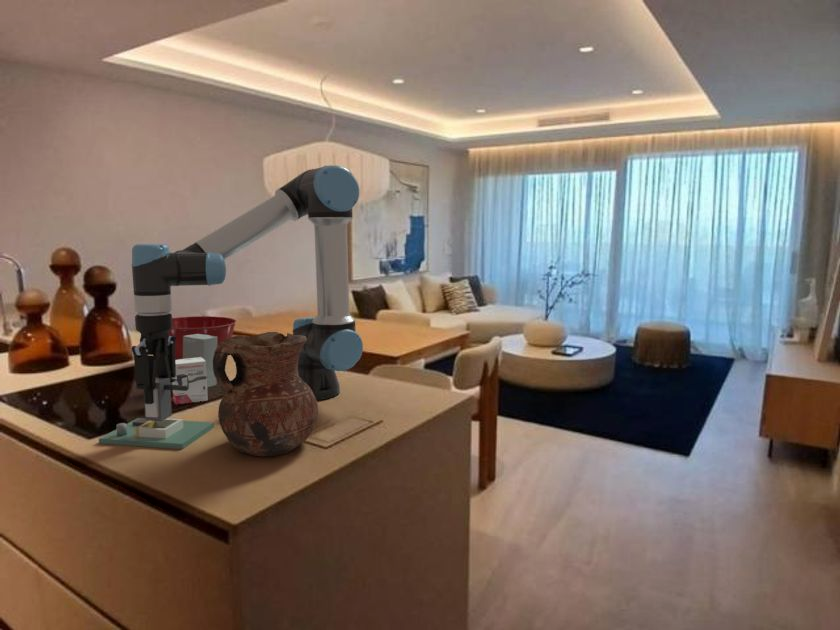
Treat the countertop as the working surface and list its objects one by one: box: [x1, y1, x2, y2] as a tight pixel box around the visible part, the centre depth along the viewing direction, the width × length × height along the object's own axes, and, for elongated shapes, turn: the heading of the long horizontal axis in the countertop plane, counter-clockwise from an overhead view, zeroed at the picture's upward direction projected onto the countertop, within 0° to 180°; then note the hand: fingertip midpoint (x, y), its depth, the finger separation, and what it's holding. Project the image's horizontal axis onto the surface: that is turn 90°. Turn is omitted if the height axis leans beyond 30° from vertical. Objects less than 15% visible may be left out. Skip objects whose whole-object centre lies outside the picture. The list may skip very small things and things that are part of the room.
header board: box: [98, 417, 215, 450], centre depth 128 cm, size 20×14×4 cm
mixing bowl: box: [168, 315, 237, 360], centre depth 198 cm, size 28×28×15 cm
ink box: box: [171, 357, 209, 406], centre depth 154 cm, size 8×5×12 cm, turn 123°
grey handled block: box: [143, 377, 189, 421], centre depth 125 cm, size 10×4×9 cm, turn 83°
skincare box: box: [183, 334, 218, 389], centre depth 169 cm, size 8×7×16 cm
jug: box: [213, 331, 319, 457], centre depth 121 cm, size 22×21×25 cm
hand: (158, 413), depth 126 cm, fingers closed on grey handled block, 4 cm apart
